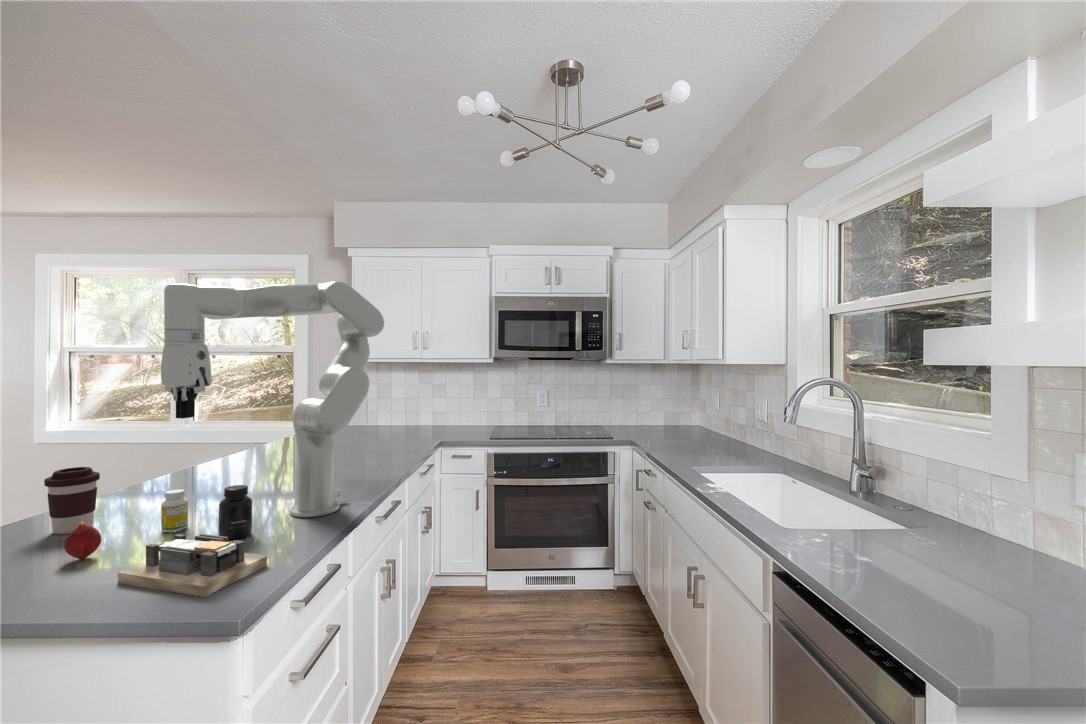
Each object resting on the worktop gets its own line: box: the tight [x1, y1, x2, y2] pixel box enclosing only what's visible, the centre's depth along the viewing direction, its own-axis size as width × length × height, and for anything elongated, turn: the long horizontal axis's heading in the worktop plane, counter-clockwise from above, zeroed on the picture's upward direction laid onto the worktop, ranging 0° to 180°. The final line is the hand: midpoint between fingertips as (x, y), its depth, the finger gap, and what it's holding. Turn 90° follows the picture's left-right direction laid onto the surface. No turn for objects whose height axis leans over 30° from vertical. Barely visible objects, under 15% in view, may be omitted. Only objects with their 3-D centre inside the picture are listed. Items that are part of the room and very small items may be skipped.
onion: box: [63, 522, 102, 561], centre depth 104 cm, size 6×6×8 cm
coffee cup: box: [43, 466, 101, 535], centre depth 122 cm, size 10×10×15 cm
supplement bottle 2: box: [218, 484, 253, 541], centre depth 117 cm, size 7×7×12 cm
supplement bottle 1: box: [160, 488, 189, 533], centre depth 122 cm, size 5×5×10 cm
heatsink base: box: [117, 533, 268, 598], centre depth 98 cm, size 14×21×6 cm, turn 75°
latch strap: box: [158, 538, 236, 557], centre depth 98 cm, size 4×16×1 cm, turn 75°
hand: (185, 417), depth 114 cm, fingers closed
